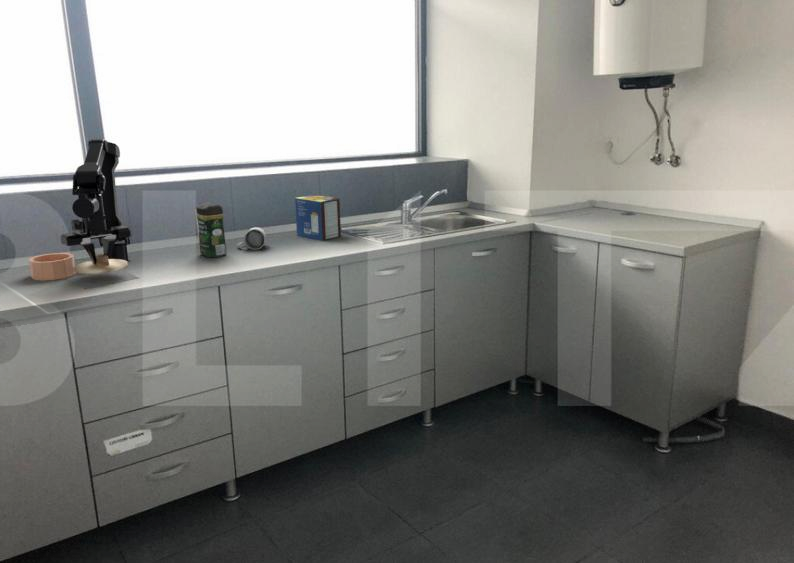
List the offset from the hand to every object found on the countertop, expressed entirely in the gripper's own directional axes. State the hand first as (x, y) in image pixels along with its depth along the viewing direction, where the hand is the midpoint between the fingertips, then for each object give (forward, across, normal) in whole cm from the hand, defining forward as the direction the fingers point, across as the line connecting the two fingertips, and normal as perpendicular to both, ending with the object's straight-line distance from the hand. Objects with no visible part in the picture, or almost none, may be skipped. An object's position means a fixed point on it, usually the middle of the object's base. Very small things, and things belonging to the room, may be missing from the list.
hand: (100, 263), depth 192 cm
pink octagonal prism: (+5, +9, -15) cm, 18 cm away
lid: (+1, 0, 0) cm, 1 cm away
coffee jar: (+6, -40, -4) cm, 41 cm away
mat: (+5, 0, 0) cm, 5 cm away
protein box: (+6, -86, -2) cm, 86 cm away
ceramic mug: (+6, -56, -4) cm, 57 cm away
